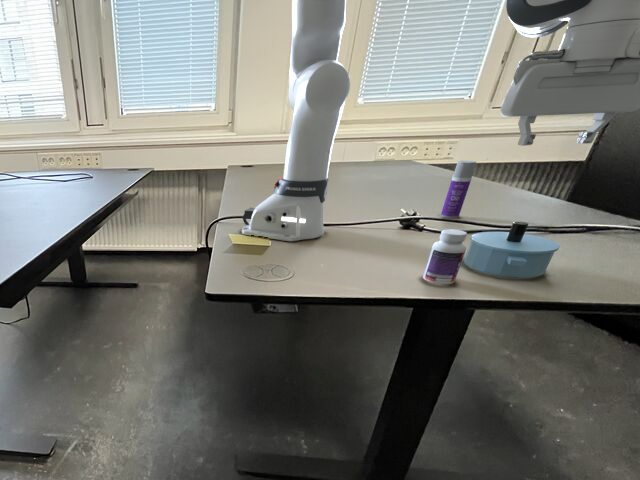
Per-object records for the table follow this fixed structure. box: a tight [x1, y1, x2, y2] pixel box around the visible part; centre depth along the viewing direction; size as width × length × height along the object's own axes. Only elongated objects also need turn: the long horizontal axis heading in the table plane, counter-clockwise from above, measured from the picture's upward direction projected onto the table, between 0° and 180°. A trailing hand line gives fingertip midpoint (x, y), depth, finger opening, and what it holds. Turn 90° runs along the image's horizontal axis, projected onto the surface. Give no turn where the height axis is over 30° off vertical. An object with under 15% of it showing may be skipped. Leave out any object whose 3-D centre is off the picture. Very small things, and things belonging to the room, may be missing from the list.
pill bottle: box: [422, 229, 468, 285], centre depth 78 cm, size 5×5×10 cm
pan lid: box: [470, 221, 560, 254], centre depth 81 cm, size 14×14×5 cm
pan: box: [463, 240, 555, 278], centre depth 84 cm, size 13×19×5 cm
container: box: [440, 160, 477, 219], centre depth 119 cm, size 5×5×15 cm
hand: (553, 144), depth 73 cm, fingers open, 8 cm apart
